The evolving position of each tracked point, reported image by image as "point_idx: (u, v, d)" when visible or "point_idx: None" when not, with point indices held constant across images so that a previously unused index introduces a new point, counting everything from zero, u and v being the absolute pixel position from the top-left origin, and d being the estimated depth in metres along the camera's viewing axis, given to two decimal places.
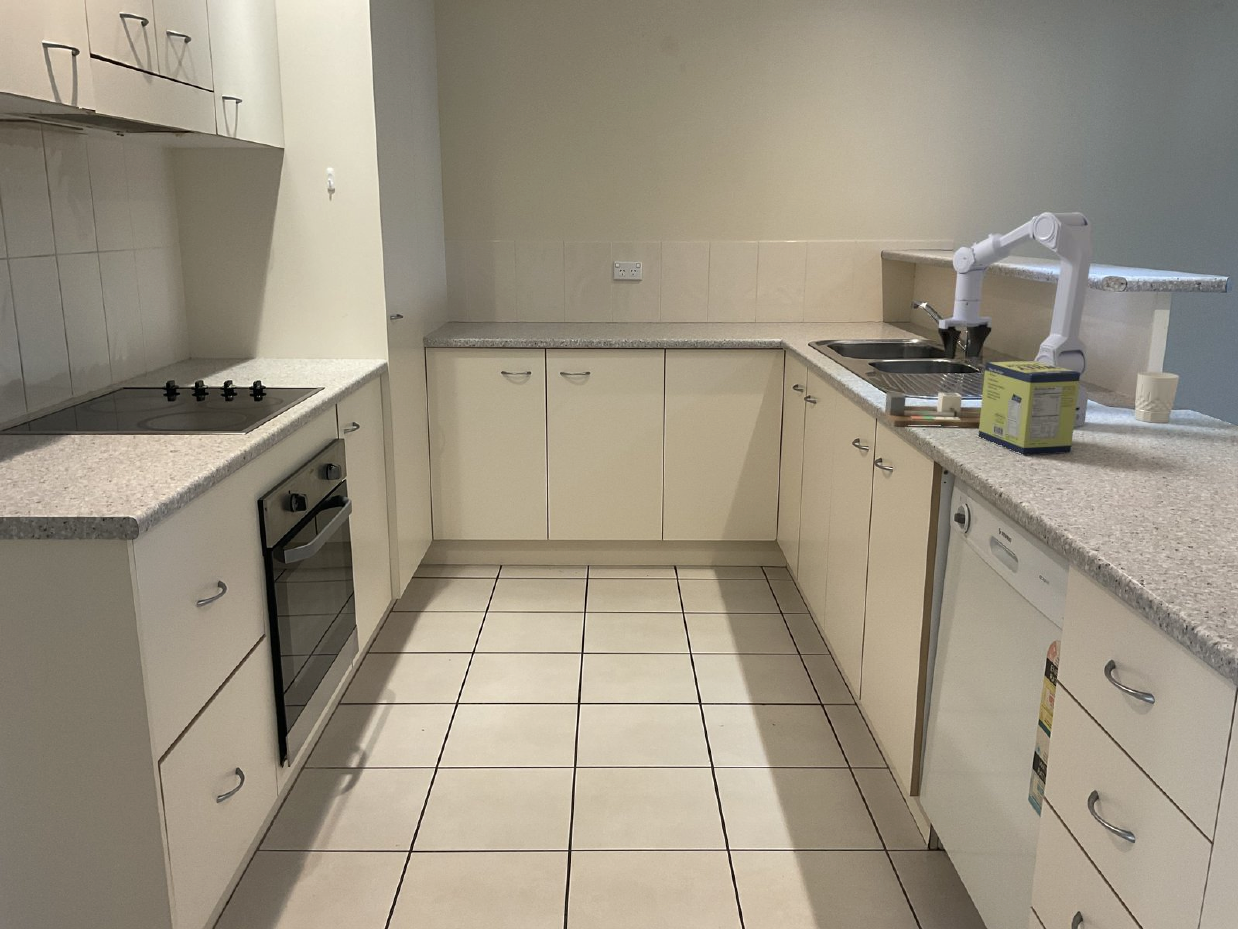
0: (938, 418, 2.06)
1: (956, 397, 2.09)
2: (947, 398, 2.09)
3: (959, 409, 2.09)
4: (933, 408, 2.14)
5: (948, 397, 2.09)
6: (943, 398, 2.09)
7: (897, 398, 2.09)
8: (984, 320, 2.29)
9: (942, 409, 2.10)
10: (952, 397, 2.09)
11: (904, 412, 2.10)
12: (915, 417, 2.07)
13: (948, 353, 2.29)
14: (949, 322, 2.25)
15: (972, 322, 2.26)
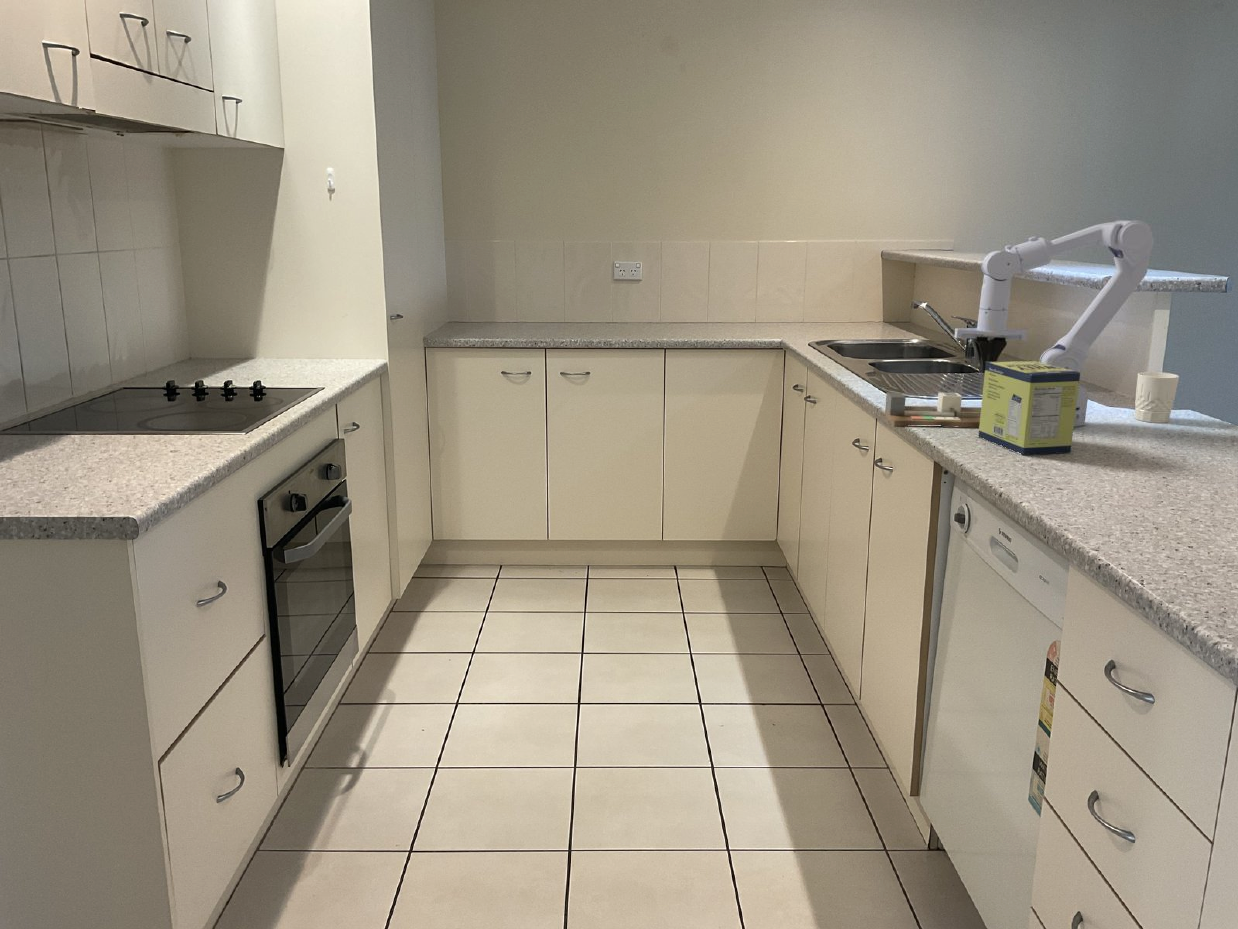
0: (938, 418, 2.06)
1: (956, 397, 2.09)
2: (947, 398, 2.09)
3: (959, 409, 2.09)
4: (933, 408, 2.14)
5: (948, 397, 2.09)
6: (943, 398, 2.09)
7: (897, 398, 2.09)
8: (1013, 333, 2.05)
9: (942, 409, 2.10)
10: (952, 397, 2.09)
11: (904, 412, 2.10)
12: (915, 417, 2.07)
13: (981, 366, 2.09)
14: (963, 331, 2.06)
15: (991, 333, 2.04)
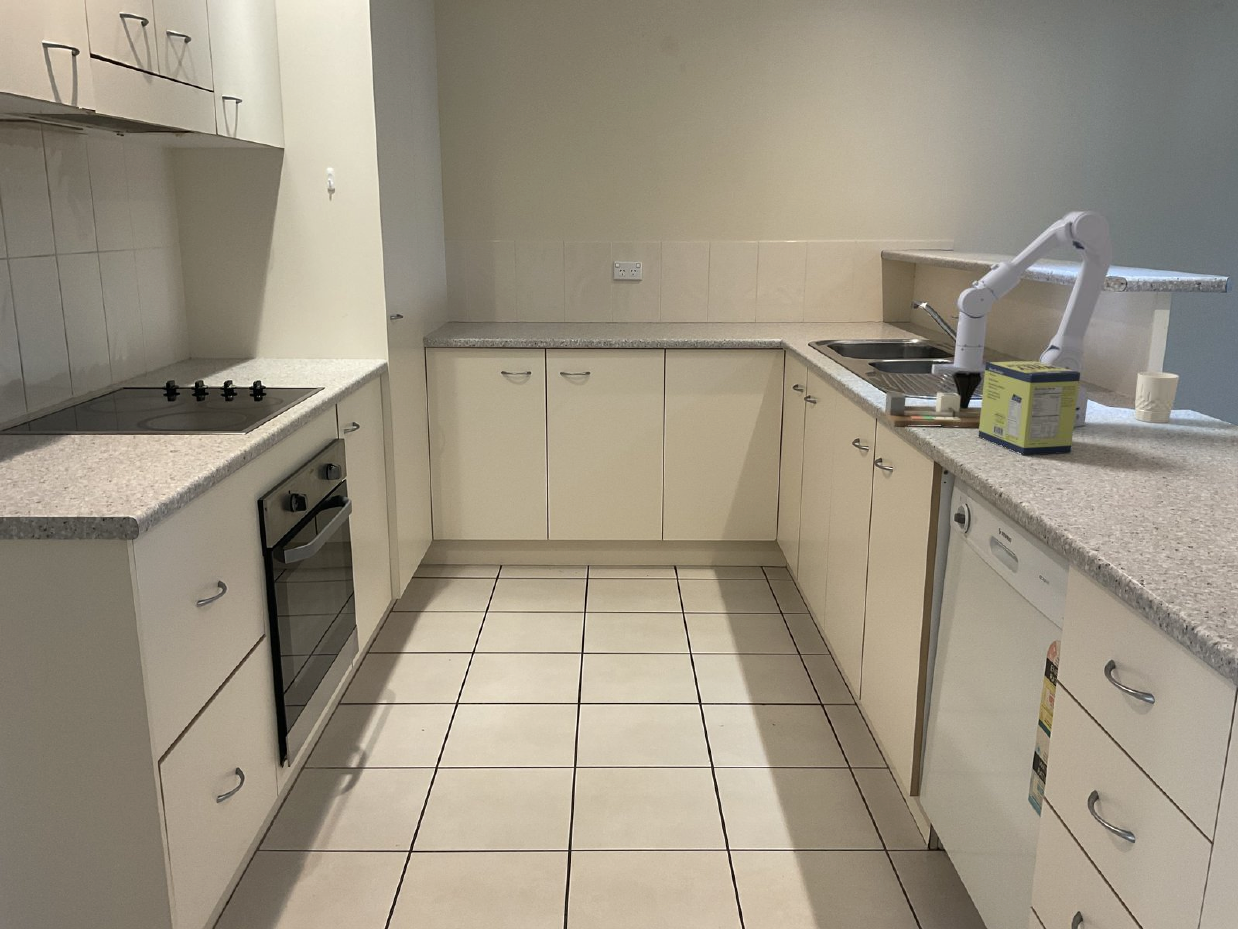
0: (938, 418, 2.06)
1: (955, 397, 2.09)
2: (946, 398, 2.09)
3: (958, 409, 2.09)
4: (933, 408, 2.14)
5: (947, 397, 2.09)
6: (942, 398, 2.09)
7: (897, 398, 2.09)
8: None
9: (941, 409, 2.10)
10: (951, 397, 2.09)
11: (904, 412, 2.10)
12: (915, 417, 2.07)
13: (960, 401, 2.11)
14: (940, 368, 2.08)
15: (967, 370, 2.06)
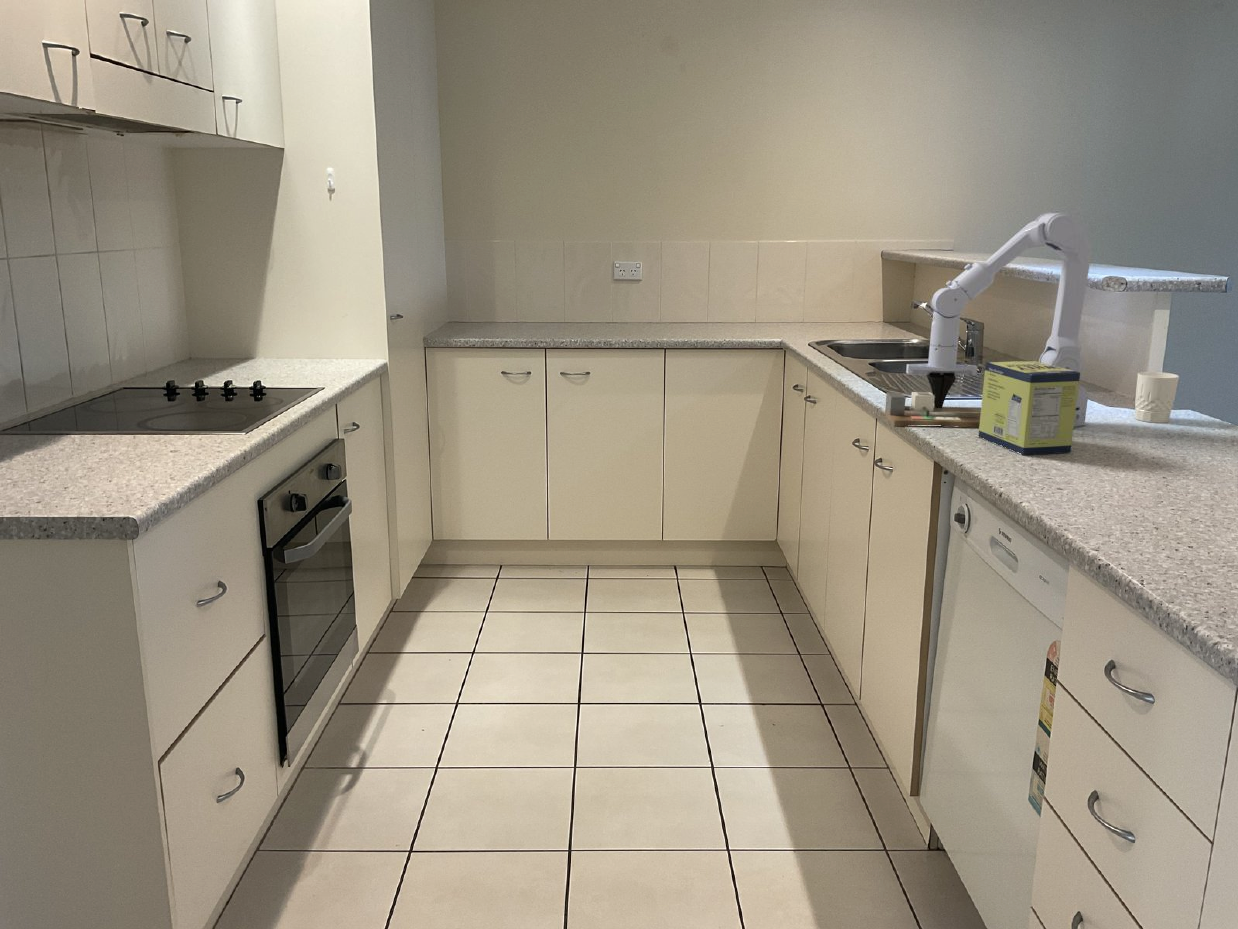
0: (938, 418, 2.06)
1: (929, 396, 2.09)
2: (920, 397, 2.09)
3: (932, 408, 2.10)
4: (933, 408, 2.14)
5: (921, 396, 2.09)
6: (916, 397, 2.09)
7: (897, 398, 2.09)
8: (963, 368, 2.07)
9: (915, 408, 2.10)
10: (925, 396, 2.09)
11: (904, 412, 2.10)
12: (915, 417, 2.07)
13: (934, 401, 2.11)
14: (914, 367, 2.09)
15: (941, 369, 2.07)
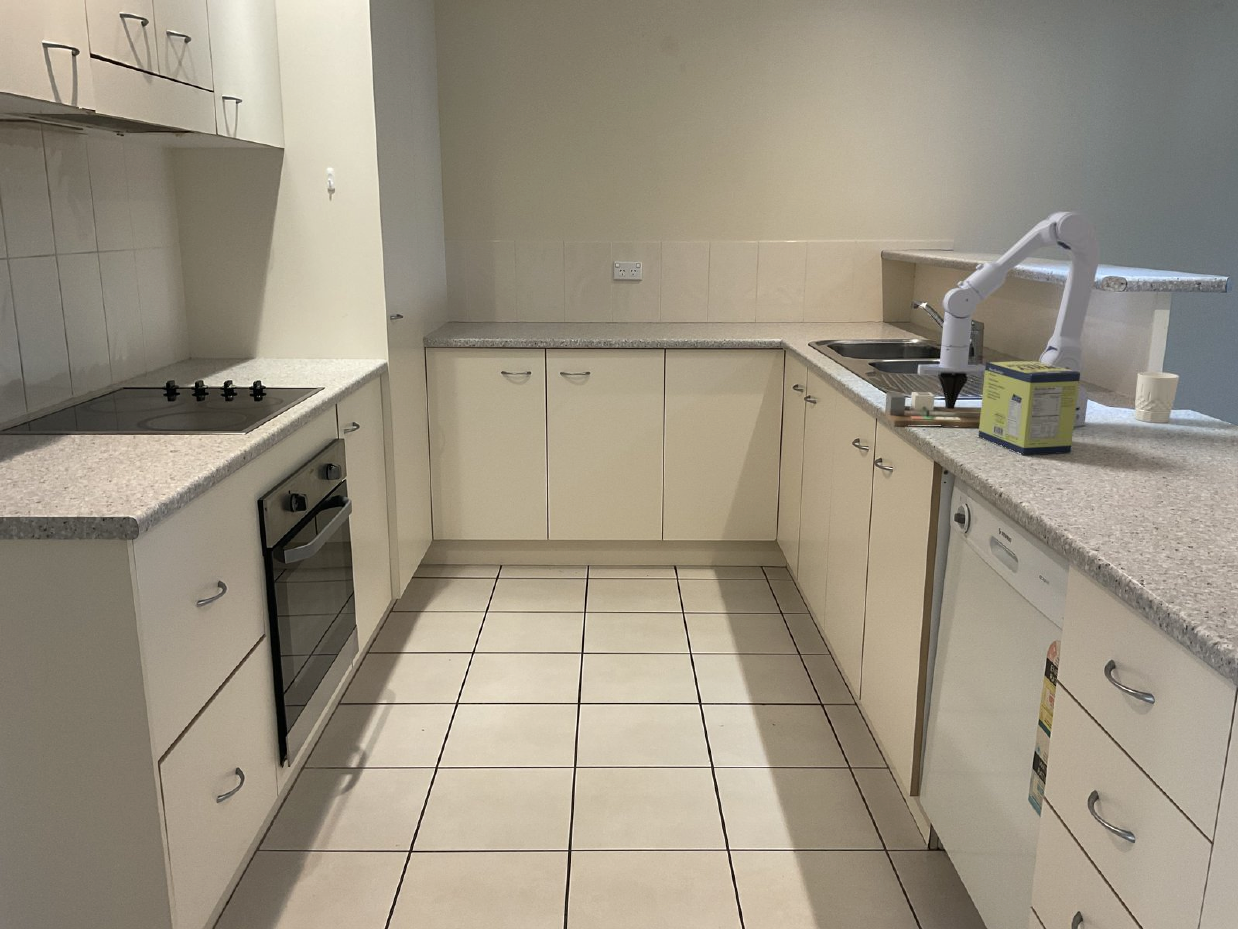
0: (938, 418, 2.06)
1: (929, 396, 2.09)
2: (920, 397, 2.09)
3: (932, 408, 2.10)
4: (933, 408, 2.14)
5: (921, 396, 2.09)
6: (916, 397, 2.09)
7: (897, 398, 2.09)
8: (975, 369, 2.07)
9: (915, 408, 2.10)
10: (925, 396, 2.09)
11: (904, 412, 2.10)
12: (915, 417, 2.07)
13: (946, 402, 2.11)
14: (925, 368, 2.08)
15: (953, 370, 2.06)
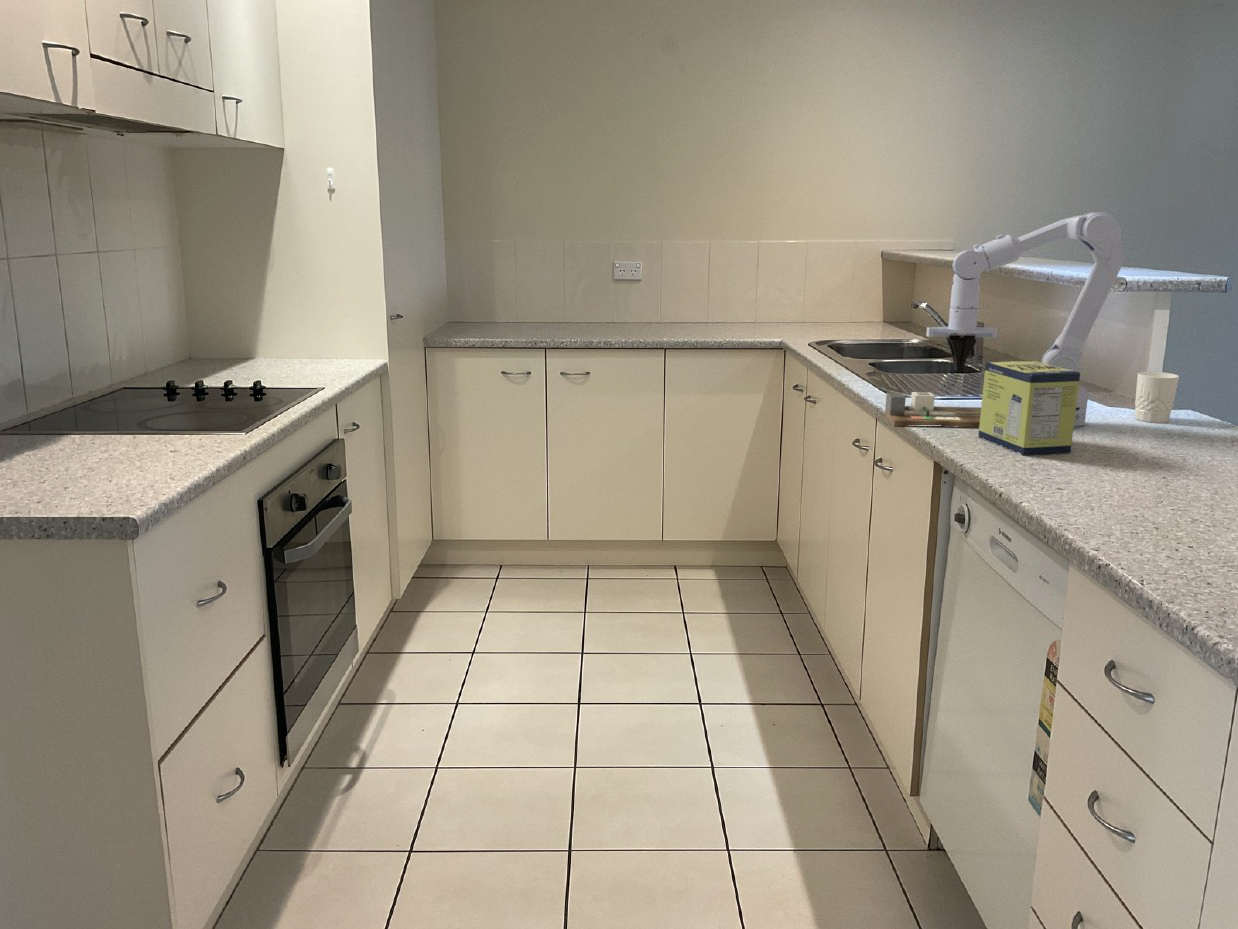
0: (938, 418, 2.06)
1: (929, 396, 2.09)
2: (920, 397, 2.09)
3: (932, 408, 2.10)
4: (933, 408, 2.14)
5: (921, 396, 2.09)
6: (916, 397, 2.09)
7: (897, 398, 2.09)
8: (984, 331, 2.08)
9: (915, 408, 2.10)
10: (925, 396, 2.09)
11: (904, 412, 2.10)
12: (915, 417, 2.07)
13: (954, 364, 2.12)
14: (934, 330, 2.09)
15: (962, 332, 2.07)
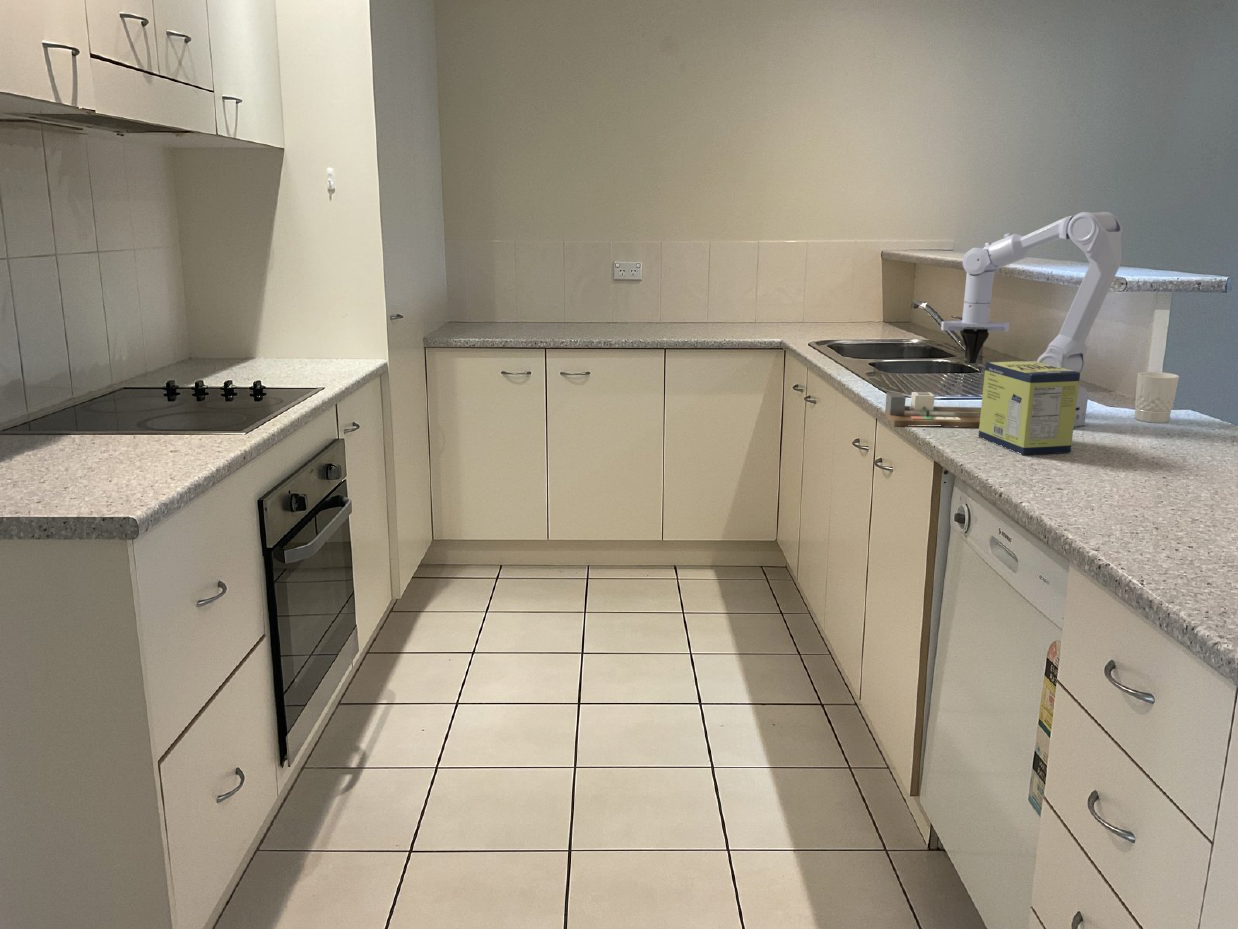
0: (938, 418, 2.06)
1: (929, 396, 2.09)
2: (920, 397, 2.09)
3: (932, 408, 2.10)
4: (933, 408, 2.14)
5: (921, 396, 2.09)
6: (916, 397, 2.09)
7: (897, 398, 2.09)
8: (996, 325, 2.18)
9: (915, 408, 2.10)
10: (925, 396, 2.09)
11: (904, 412, 2.10)
12: (915, 417, 2.07)
13: (968, 357, 2.22)
14: (949, 324, 2.19)
15: (975, 326, 2.17)
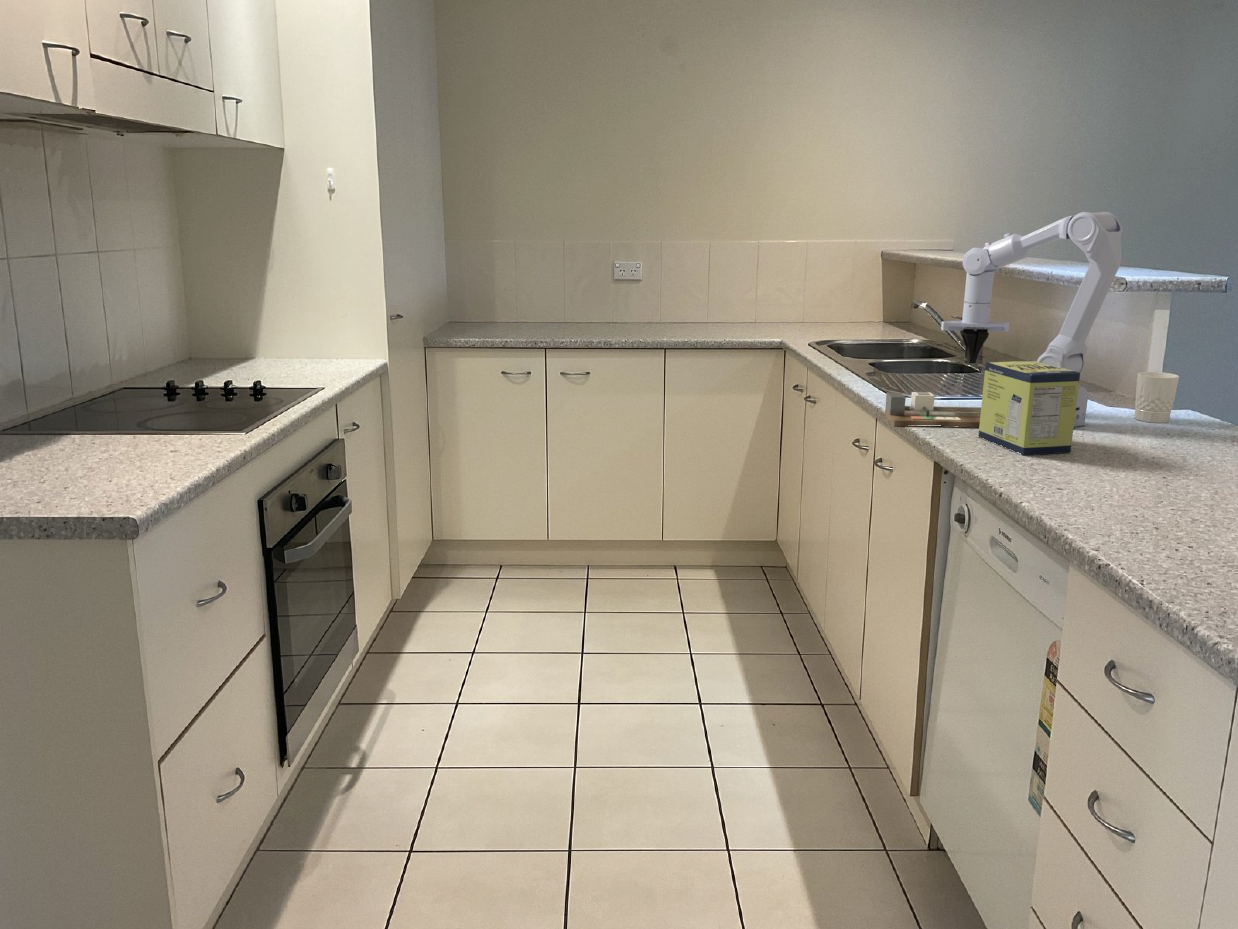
0: (938, 418, 2.06)
1: (929, 396, 2.09)
2: (920, 397, 2.09)
3: (932, 408, 2.10)
4: (933, 408, 2.14)
5: (921, 396, 2.09)
6: (916, 397, 2.09)
7: (897, 398, 2.09)
8: (996, 325, 2.18)
9: (915, 408, 2.10)
10: (925, 396, 2.09)
11: (904, 412, 2.10)
12: (915, 417, 2.07)
13: (968, 357, 2.22)
14: (949, 324, 2.19)
15: (975, 326, 2.17)
